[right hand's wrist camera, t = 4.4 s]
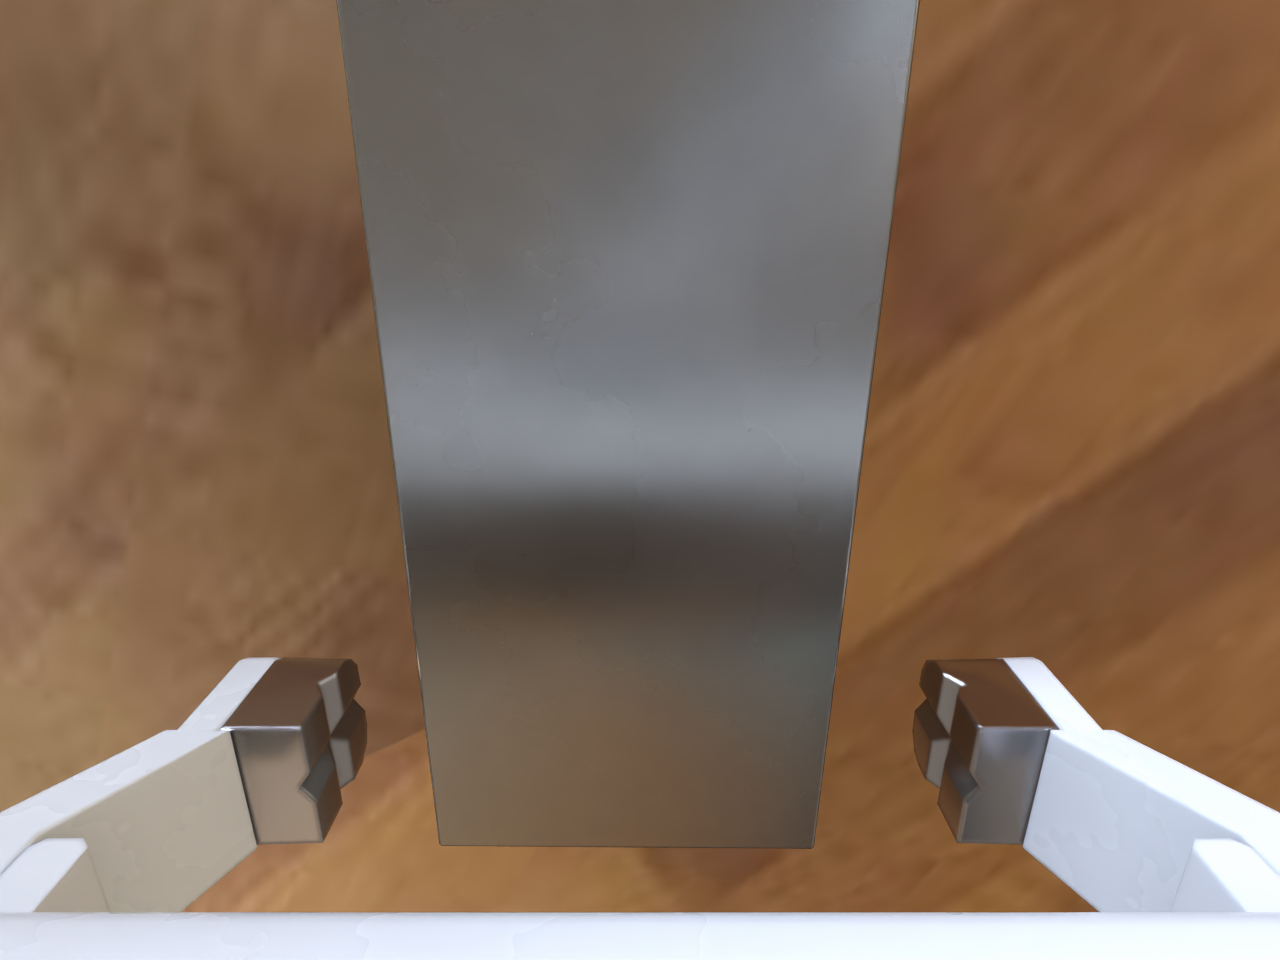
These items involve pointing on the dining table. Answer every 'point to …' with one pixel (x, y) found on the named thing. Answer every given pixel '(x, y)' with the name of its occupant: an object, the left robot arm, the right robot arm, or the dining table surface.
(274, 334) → the dining table surface
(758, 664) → the box
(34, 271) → the dining table surface
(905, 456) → the dining table surface
